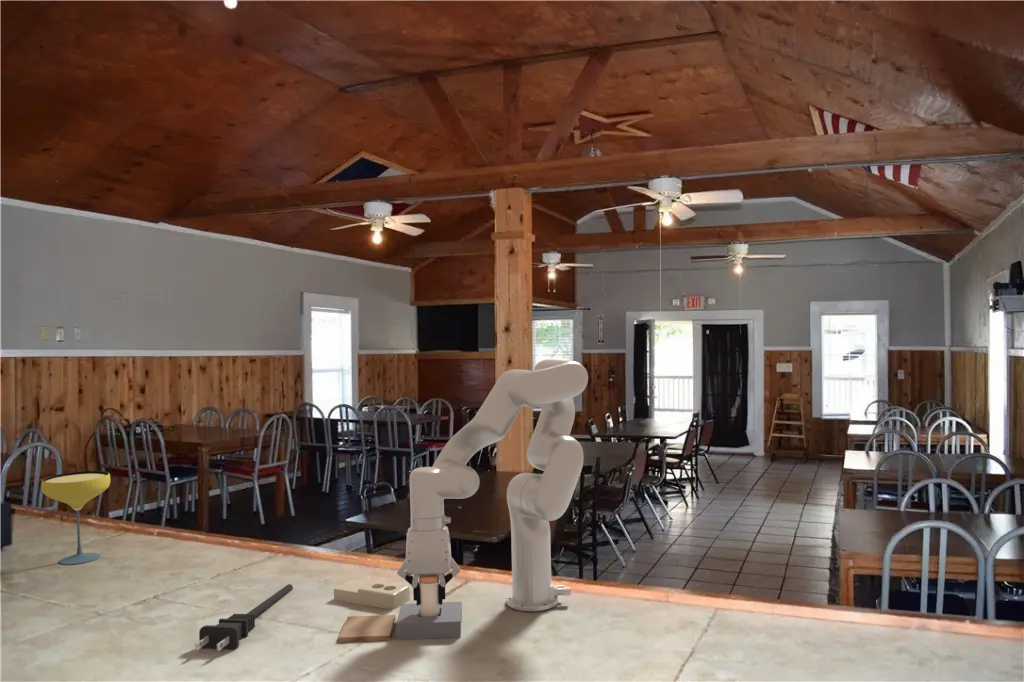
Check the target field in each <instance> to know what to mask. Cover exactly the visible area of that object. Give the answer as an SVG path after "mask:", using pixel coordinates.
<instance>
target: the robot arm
mask: <svg viewBox="0 0 1024 682" xmlns="http://www.w3.org/2000/svg"><path fill="white" fill-rule="evenodd" d="M588 381H589V375H588V371H587V369H586V368H585V366H583V365H582V364H581V363H579V362H578V361H575V360H566V359H565V360H562V359H552V358H551V359H544V360H541V361H539V362H537V363H536V364H535V366H534V367H533V370H529V369H516V368H515V369H509V370H506V371H504V372H503V373H502V374H501V375H500V376H499V378H497V381H496V382H495V384H494V386H493V387H492V389H491V390H490V391H489V393H488V395H487V396H486V398H485V400H483V401H484V402H482V404H481V406H480V408H479V409H478V410H477V413H476V414H475V416H474V417H473V418H472V419H471V420H470V421H469V422H467V424H465V425H464V426H463V427H462V428H461V429H459V430H458V431H457V432H456V433H455V434H454V435H452V437H451V438H450V439H449V440H448V441H447V442H446V444H445V445H444V447H443V448H442V450H441V451H440V453H439V454H438V456H437V458H436V459H435V460H434V463H433V464H432V466H424V467H423V466H422V467H416V468H414V469H412V470H411V471H410V473H409V502H410V505H409V506H410V527H409V528H408V529H407V534H406V543H405V545H406V546H405V558H404V561H403V562H402V564H401V565H400V566H399V568H398V570H397V572H396V575H397V576H399V577H400V578H402V579H404V580H405V581H406V582H407V583H408V584H410V586H411V587H412V592H413V596H412V597H413V601H415V603H416V604H417V606H418V605H420V587H419V575H425V574H438V577H439V588H438V590H439V604H440V605H442V602H444V601H443V600H446V586H447V584H448V583H449V582H450V581H451V580H452V579H453V578H454V577H456V576H457V575H458V574H460V573H461V567H460V566H459V565H458V563H457V562H456V561H455V559H454V558H453V557H452V549H451V548H452V547H451V537H450V532H449V527H448V526H446V524H447V525H448V524H451V521H452V519H451V518H452V517H451V516H446V515H445V504H444V503H445V502H444V500H446V499H452V500H453V499H457V500H460V499H467V498H470V497H472V496H473V495H475V494H476V493H477V491H478V490H479V488H480V483H481V481H480V476H479V474H478V473H477V471H476V470H475V469H474V468H473V467H470V466H468V465H467V463H468V462H469V461H470V459H472V457H473V456H474V455H475V454H476V453H477V452H479V451H480V450H483V448H486V447H488V446H490V445H493V444H495V443H497V442H499V441H502V439H504V438H505V437H506V436H507V434H508V432H509V430H510V429H511V427H512V425H513V423H514V422H515V420H516V419H517V417H518V415H519V414H520V413H521V411H522V409H523V407H527V408H528V407H529V408H536V407H537V408H538V407H541V409H540V414H539V417H538V420H537V422H536V426H535V428H534V430H533V432H532V433H533V434H532V435H531V438H530V442H529V443H528V448H527V450H526V460H527V461H528V463H529V464H530V466H531V467H534V468H535V469H537V470H540V471H543V473H542V475H540V474H536V473H531V472H522V473H519V474H517V475H515V476H514V477H512V479H511V480H510V482H508V486H507V487H506V488H507V489H506V502H507V507H508V511H509V519H510V531H511V532H510V535H511V538H510V539H511V578H512V585H511V587H512V592H511V593H509V594H508V595H507V597H506V604H507V606H508V607H509V608H511V609H514V610H517V611H520V612H521V611H522V612H542V611H546V610H550V609H553V608H554V607H556V606H557V604H558V603H559V596H566V597H567V596H571V595H572V594H571V593H572V592H571V590H572V589H571V586H569V587H568V586H567V587H566V586H565V585H564V584H562V585H561V584H559V585H555V584H554V583H553V580H552V560H551V557H552V556H551V553H552V552H551V550H552V549H551V527H550V522H553V521H556V520H558V519H559V518H561V517H562V516H564V514H565V513H566V511H567V509H568V507H569V505H570V503H571V500H572V499H573V498H572V497H573V495H574V492H575V489H576V487H577V484H578V481H579V479H580V476H581V473H582V469H583V466H584V461H585V460H584V459H585V458H584V450H583V447H582V445H581V444H580V442H579V441H578V440H577V439H575V438H574V437H572V436H570V435H571V431H572V427H573V425H574V423H575V416H576V408H575V403H574V397H577V396H579V395H580V394H581V393H583V392H584V391H585V389H586V387H587V385H588Z"/></svg>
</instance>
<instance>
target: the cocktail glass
mask: <svg viewBox="0 0 1024 682" xmlns="http://www.w3.org/2000/svg"><path fill="white" fill-rule="evenodd" d="M110 484H111V474H110V472H108V471H106V470H105V471H103V470H87V471H86V470H83V471H74V472H66V473H59V474H55V475H51V476H48V477H45V478H43V479H42V480H41V492H42V493H43V495H45V496H46V497H48V499H52V500H54V501H58V502H61V503H64V504H66V505H68V506H70V507H71V509H73V510H74V511H76V528H77V535H76V536H77V548H76V553H75V554H72V555H71V554H70V555H68V556H65V557H62V558H60V560H59V561H58V563H59V564H60V565H64V566H70V565H71V566H72V565H83V564H87V563H90V562H94V561H97V560H98V559H100V557H101V555H100V553H96V552H83V550H82V544H81V528H80V527H81V526H80V511H81V510H82V509H83V507H84V506H85V505H86V504H87V503H88V502H90V501H91V500H92V499H94V498H96V497H97V496H99V495H101V494H103V493H104V492H105V491H106V490H107V489H108V488H109V487H110Z"/></svg>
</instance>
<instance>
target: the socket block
mask: <svg viewBox="0 0 1024 682" xmlns="http://www.w3.org/2000/svg"><path fill="white" fill-rule="evenodd" d="M462 603H463V602H462V601H446V602H445V601H442V605H440V616H431V617H420V605H418V606H417V604H416V602H415V603H404V604H401V606H400V608H399V612H398V616H397V619H396V623H395V627H396V630H395V631H396V633H395V635H396V640H397V641H399V640H401V641H402V640H420V639H421V640H424V639H425V640H426V639H444V638H443V637H452V638H461V637H462V624H463V621H462V619H463V609H462V607H463V604H462ZM439 637H440V638H439Z"/></svg>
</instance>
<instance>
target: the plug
mask: <svg viewBox="0 0 1024 682" xmlns="http://www.w3.org/2000/svg"><path fill="white" fill-rule="evenodd" d="M418 582H419V587H420V617H431V616H440V604H439V590H438V588H439V583H440V581H439V577H438V574H425V575H419V579H418Z"/></svg>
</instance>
